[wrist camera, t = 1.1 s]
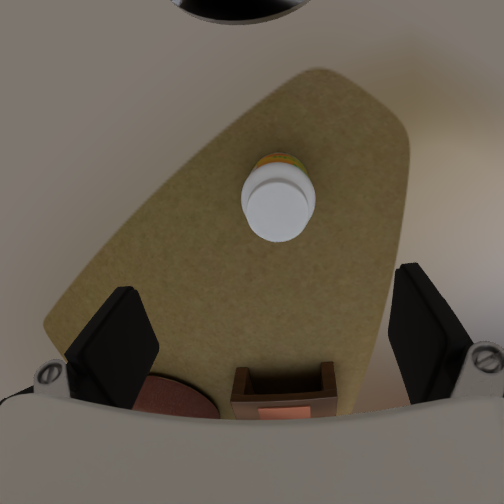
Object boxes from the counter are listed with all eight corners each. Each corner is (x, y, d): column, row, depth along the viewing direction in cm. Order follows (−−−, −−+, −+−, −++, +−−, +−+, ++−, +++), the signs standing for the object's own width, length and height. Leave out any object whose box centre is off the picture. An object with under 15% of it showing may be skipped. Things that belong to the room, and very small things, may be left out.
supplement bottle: (318, 168, 26) (336, 195, 18) (292, 217, 29) (295, 265, 20) (265, 141, 26) (256, 155, 17) (241, 192, 28) (221, 231, 19)
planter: (221, 382, 40) (200, 477, 26) (221, 436, 48) (207, 508, 34) (112, 359, 41) (70, 436, 27) (134, 417, 49) (109, 480, 35)
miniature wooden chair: (236, 367, 39) (224, 428, 30) (333, 361, 37) (340, 423, 28) (250, 414, 44) (243, 466, 35) (330, 410, 42) (334, 463, 33)
